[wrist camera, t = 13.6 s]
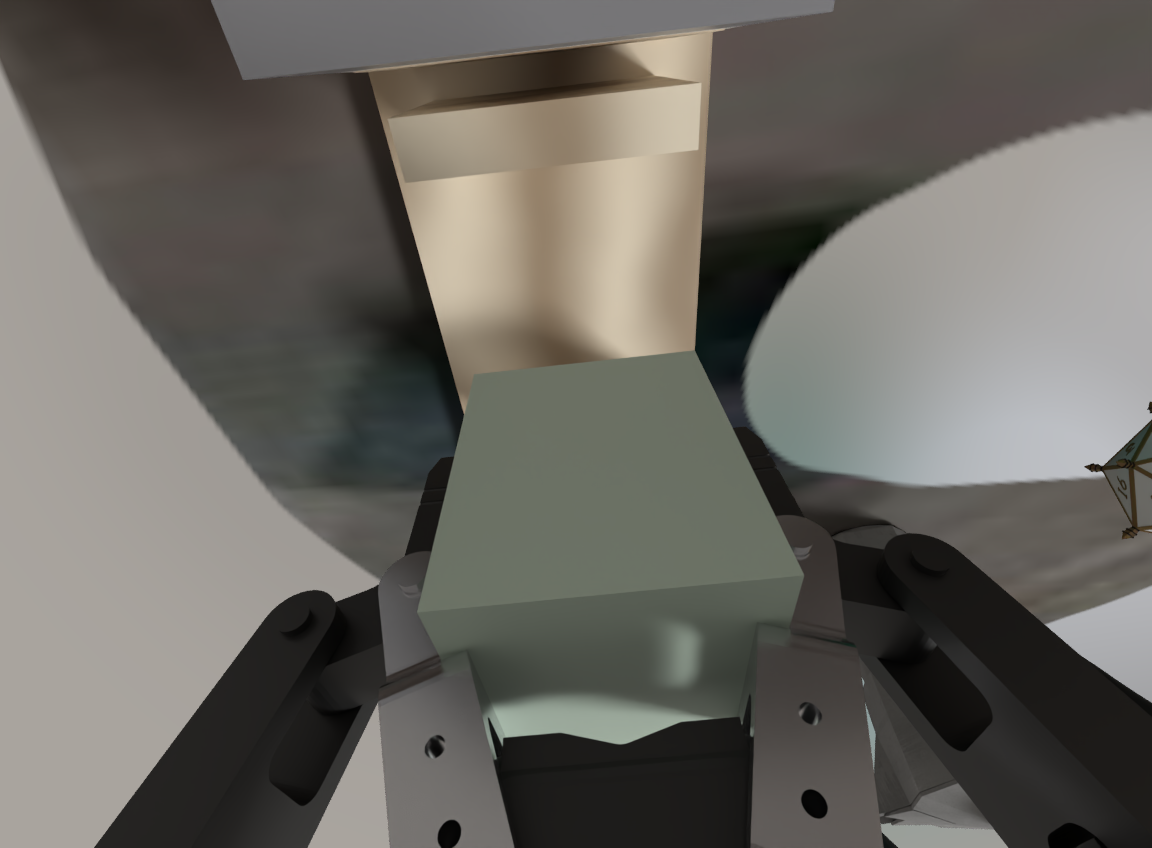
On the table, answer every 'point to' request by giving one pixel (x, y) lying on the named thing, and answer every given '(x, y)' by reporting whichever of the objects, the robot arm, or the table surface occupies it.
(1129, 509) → the game die
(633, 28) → the slide cover
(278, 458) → the table surface
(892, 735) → the coffeepot
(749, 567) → the sage block
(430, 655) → the robot arm
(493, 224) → the puzzle board
